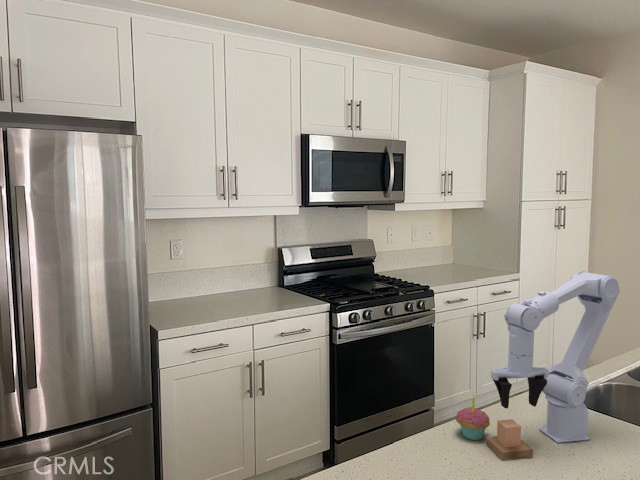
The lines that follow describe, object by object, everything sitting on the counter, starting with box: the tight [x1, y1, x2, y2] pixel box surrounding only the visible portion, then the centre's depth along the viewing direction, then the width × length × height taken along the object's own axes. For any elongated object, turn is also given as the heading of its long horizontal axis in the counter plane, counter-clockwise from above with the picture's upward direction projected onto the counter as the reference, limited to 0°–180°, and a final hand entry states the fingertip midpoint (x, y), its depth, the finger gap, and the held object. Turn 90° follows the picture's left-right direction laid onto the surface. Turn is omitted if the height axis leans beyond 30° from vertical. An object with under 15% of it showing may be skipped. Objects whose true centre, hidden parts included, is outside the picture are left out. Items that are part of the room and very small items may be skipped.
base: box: [485, 435, 534, 461], centre depth 126 cm, size 8×8×2 cm
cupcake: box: [455, 394, 491, 441], centre depth 134 cm, size 9×8×12 cm
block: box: [496, 419, 522, 448], centre depth 126 cm, size 4×4×5 cm
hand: (518, 405), depth 128 cm, fingers open, 7 cm apart
